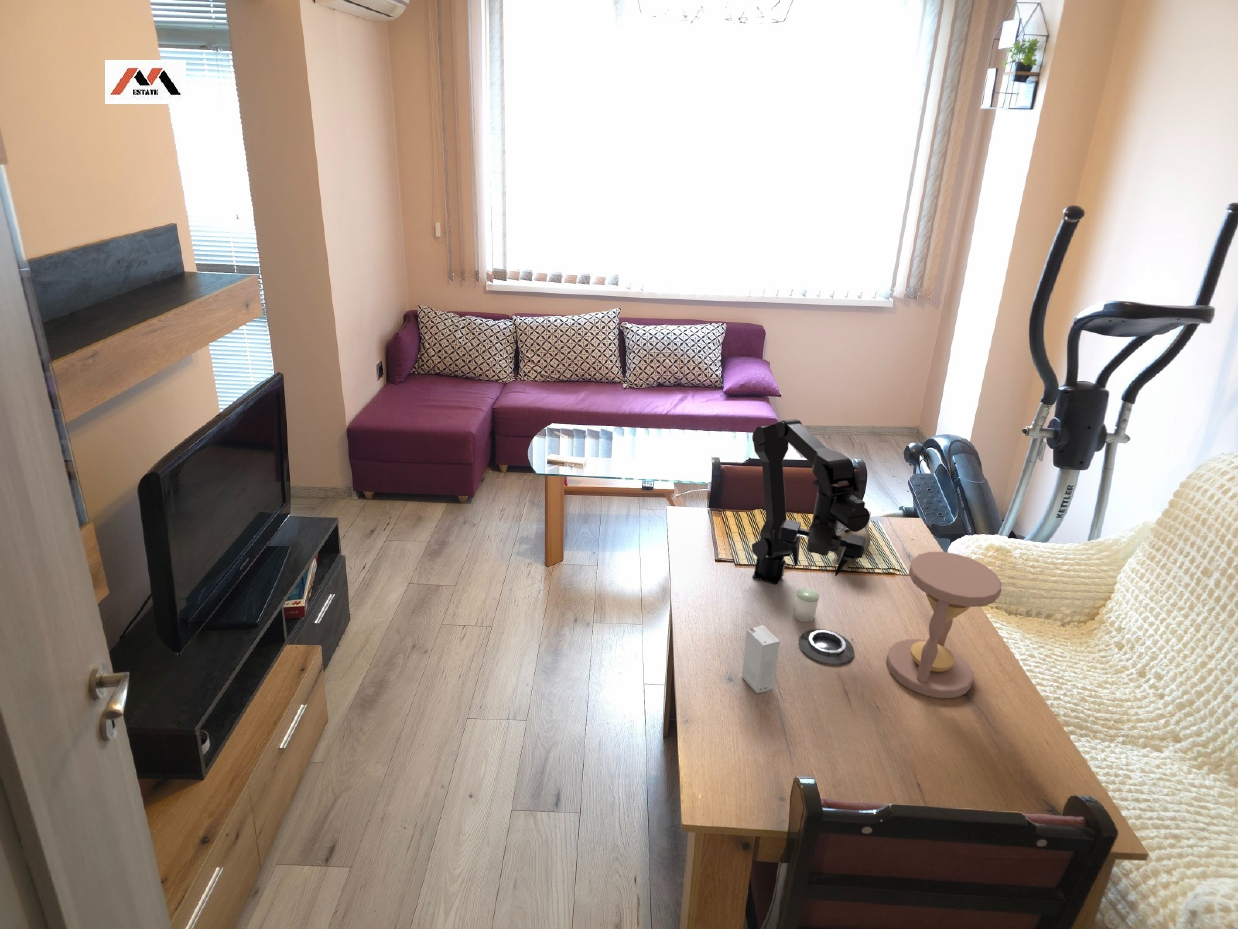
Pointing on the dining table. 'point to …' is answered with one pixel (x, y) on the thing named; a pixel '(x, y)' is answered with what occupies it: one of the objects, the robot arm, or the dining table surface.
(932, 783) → the dining table surface
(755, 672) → the skincare box
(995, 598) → the hourglass
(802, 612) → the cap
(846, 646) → the collar
